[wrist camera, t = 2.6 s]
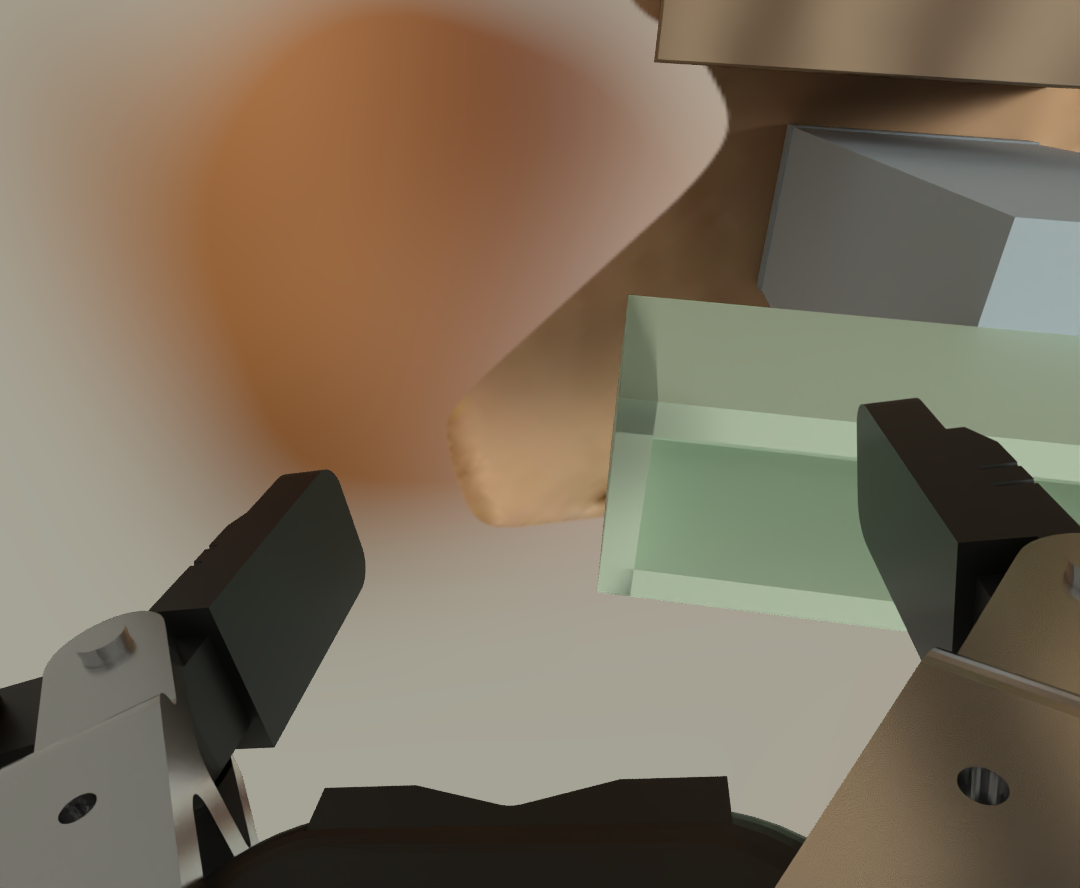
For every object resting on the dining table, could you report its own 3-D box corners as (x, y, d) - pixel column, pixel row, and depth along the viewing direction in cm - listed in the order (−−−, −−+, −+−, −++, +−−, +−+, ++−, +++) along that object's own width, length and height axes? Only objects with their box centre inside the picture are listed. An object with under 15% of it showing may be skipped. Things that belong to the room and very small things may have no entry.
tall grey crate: (756, 285, 51) (893, 559, 22) (788, 123, 46) (1011, 212, 18) (972, 304, 49) (1406, 620, 21) (1027, 140, 45) (1679, 265, 16)
